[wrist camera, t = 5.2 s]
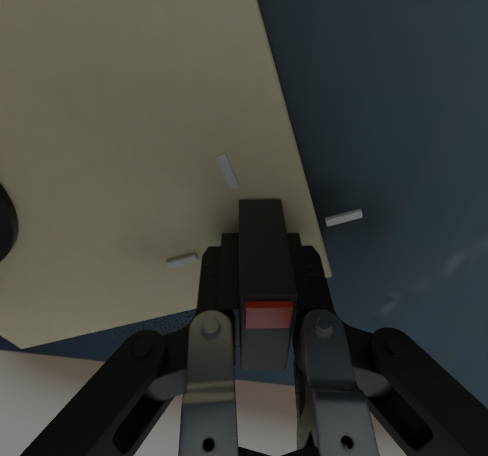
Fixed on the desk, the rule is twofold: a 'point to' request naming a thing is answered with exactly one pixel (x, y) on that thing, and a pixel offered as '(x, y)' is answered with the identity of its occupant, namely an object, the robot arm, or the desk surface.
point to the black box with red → (265, 285)
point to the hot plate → (134, 156)
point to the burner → (7, 224)
